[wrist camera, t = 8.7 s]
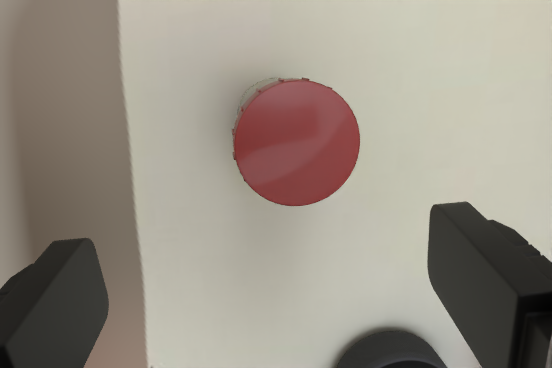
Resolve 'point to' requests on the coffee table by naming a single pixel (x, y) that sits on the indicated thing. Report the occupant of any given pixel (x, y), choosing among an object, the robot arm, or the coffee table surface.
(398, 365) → the smart speaker
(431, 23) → the coffee table surface
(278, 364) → the coffee table surface
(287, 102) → the lid
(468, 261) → the robot arm
